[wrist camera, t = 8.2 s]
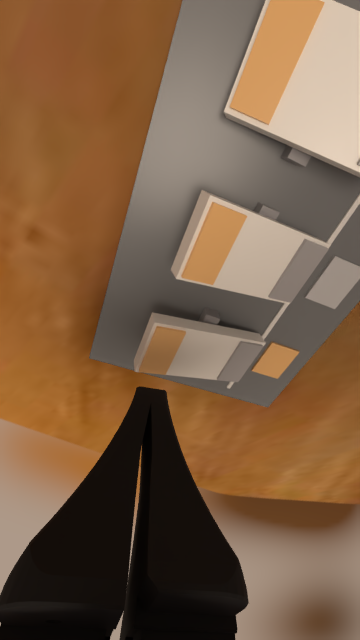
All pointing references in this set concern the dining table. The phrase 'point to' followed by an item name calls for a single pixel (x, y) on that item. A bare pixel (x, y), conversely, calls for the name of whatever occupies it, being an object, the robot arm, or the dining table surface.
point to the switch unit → (235, 186)
